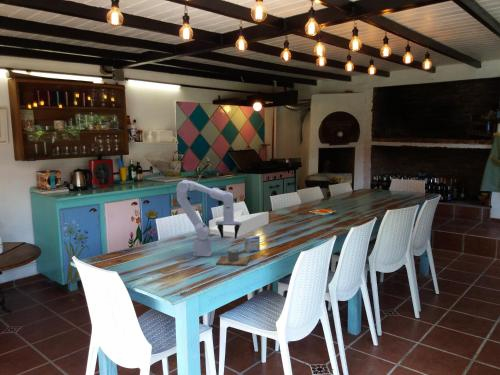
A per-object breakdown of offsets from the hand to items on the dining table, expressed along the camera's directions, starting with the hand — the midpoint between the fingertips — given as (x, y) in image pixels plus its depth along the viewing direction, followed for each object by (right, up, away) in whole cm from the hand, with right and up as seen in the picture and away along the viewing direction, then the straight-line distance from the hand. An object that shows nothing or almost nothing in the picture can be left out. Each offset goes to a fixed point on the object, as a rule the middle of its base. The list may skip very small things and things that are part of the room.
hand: (229, 237), depth 228 cm
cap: (+3, -10, -12) cm, 16 cm away
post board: (+3, -11, -12) cm, 17 cm away
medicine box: (+13, -9, +6) cm, 17 cm away
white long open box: (+5, -1, +62) cm, 62 cm away
